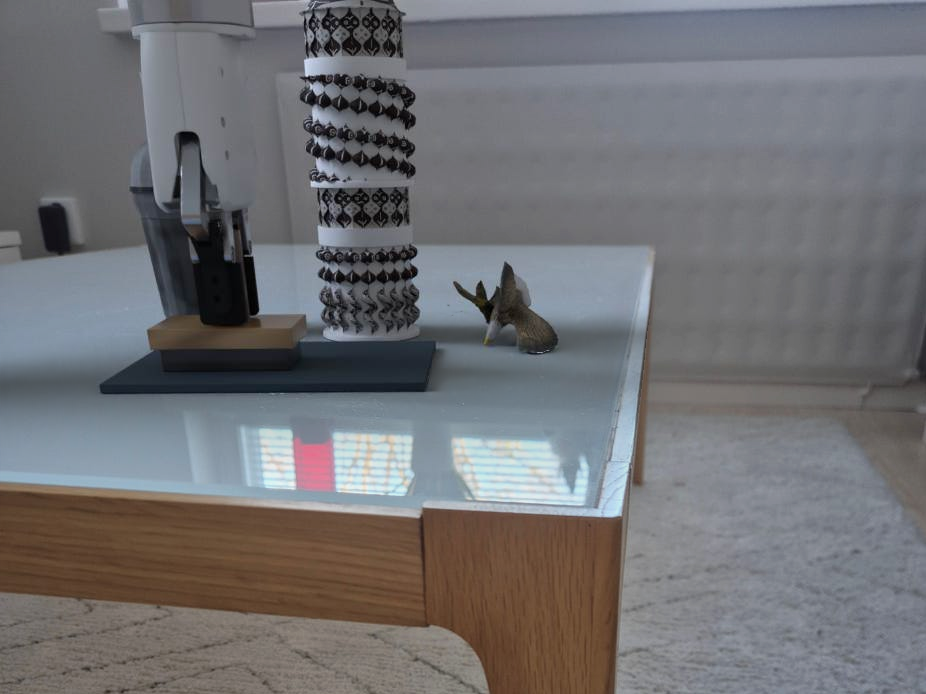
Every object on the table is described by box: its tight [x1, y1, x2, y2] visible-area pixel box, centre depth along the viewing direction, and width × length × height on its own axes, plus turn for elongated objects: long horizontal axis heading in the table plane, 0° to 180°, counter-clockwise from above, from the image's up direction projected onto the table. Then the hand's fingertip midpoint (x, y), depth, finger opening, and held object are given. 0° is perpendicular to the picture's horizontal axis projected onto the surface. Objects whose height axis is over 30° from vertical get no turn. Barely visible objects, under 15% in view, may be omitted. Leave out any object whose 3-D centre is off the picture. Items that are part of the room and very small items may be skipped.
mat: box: [98, 340, 437, 394], centre depth 70 cm, size 22×15×1 cm
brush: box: [146, 229, 308, 372], centre depth 67 cm, size 10×6×9 cm, turn 90°
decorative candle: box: [297, 0, 421, 341], centre depth 76 cm, size 9×9×25 cm
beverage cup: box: [129, 71, 219, 319], centre depth 80 cm, size 7×7×20 cm
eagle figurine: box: [452, 261, 559, 354], centre depth 76 cm, size 8×7×9 cm
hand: (231, 317), depth 67 cm, fingers closed on brush, 3 cm apart
